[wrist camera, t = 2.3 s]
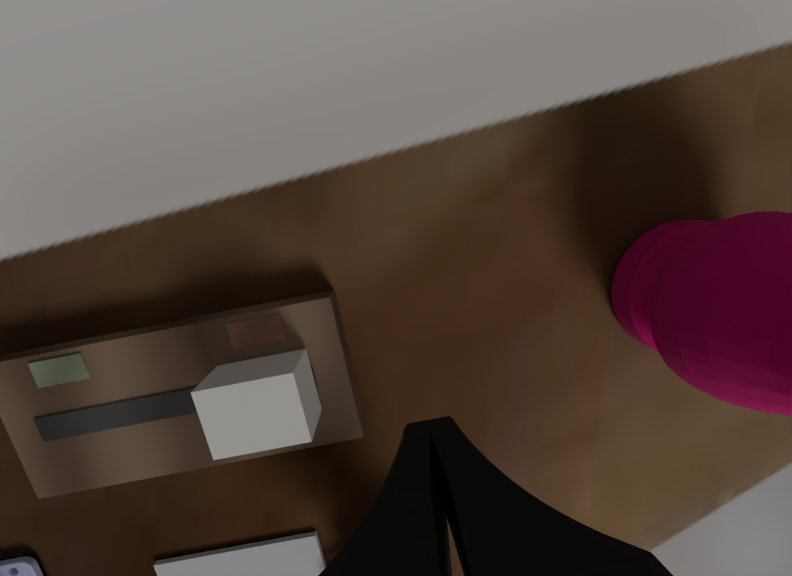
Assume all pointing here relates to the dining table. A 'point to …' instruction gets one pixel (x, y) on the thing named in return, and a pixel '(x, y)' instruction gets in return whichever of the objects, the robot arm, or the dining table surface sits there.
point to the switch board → (162, 393)
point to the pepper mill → (715, 304)
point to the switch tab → (258, 404)
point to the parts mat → (252, 559)
